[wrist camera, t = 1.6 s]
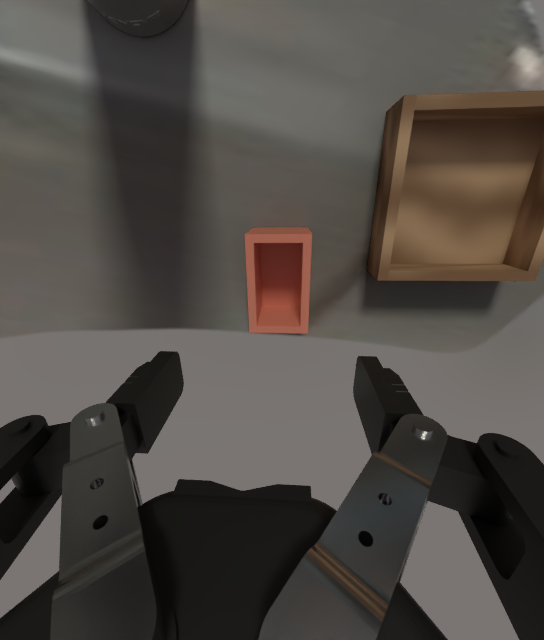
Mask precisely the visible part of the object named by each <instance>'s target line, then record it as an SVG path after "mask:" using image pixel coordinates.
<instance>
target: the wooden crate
mask: <svg viewBox="0 0 544 640" xmlns="http://www.w3.org/2000/svg"><path fill="white" fill-rule="evenodd" d="M543 259H544V91H517V92H489V93H461V94H433V95H404V96H403V97H402V98H401V99H400V100H399V101H398V102H396V103H395V104H394V105H393V106H392V107H391V108H390V109H389V110H388V111H387V112H386V120H385V128H384V136H383V144H382V152H381V160H380V168H379V176H378V184H377V192H376V200H375V207H374V215H373V223H372V231H371V239H370V247H369V255H368V263H367V271H368V272H369V273H370V274H371V275H372V276H373V277H374V278H375V279H376V280H377V281H535V280H536V277H537V275H538V272H539V269H540V267H541V264H542V261H543Z"/></svg>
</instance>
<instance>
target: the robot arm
mask: <svg viewBox="0 0 544 640" xmlns="http://www.w3.org/2000/svg"><path fill="white" fill-rule="evenodd" d="M87 1H88V2H89V3H90V4H91V5H92V6H93V7H94V8H95V9H96V10H97V11H98V12H99V13H101V14H102V15H103V16H104V17H105V18H106V19H107V20H108V21H109V22H110V23H111V24H112V25H113V26H115V27H116V28H118V29H119V30H121V31H123V32H125V33H128V34H130V35H133V36H141V37H149V36H154V35H158V34H160V33H161V32H163V31H165V30H167V29H168V28H169V27H171V26H172V25H173V24H174V23H175V22H176V21H177V20H178V18H179V17H180V15H181V14H182V12H183V10H184V9H185V6H186V4H187V1H188V0H87ZM183 384H184V382H183V375H182V370H181V363H180V357H179V354H178V353H177V352H167V351H160V352H159V353H158V354H157V355H156V356H155V357H154V358H153V360H152V361H151V362H146V363H145V364H143V365H142V366H140V367H138V368H137V369H136V370H135V371H134V372H133V373H132V374H131V375H130V377H129V378H128V379H127V380H126V381H125V383H123V384H122V385H121V386H120V387H119V389H118V390H117V391H116V392H115V393H114V394H113V395H112V396H111V397H110V398H109V399H108V401H107V402H106V403H101V404H96V405H93V406H90V407H88V408H86V409H84V410H82V411H81V412H79V413H78V414H77V415H76V416H75V417H74V418H73V419H72V421H71V422H68V423H62V424H57V425H52V426H48V424H47V422H46V420H45V418H44V417H43V416H40V415H31V416H26V417H22V418H19V419H17V420H14V421H12V422H10V423H8V424H6V425H5V426H3V427H1V428H0V490H1V489H2V488H3V486H4V485H5V484H6V483H7V482H8V481H9V480H10V479H12V481H13V483H14V484H15V486H16V487H15V488H14V489H13V490H12V491H11V492H10V494H9V495H8V496H7V497H6V498H5V499H4V500H3V501H2V502H1V504H0V580H1V578H2V577H3V575H4V574H5V573H6V571H7V570H8V568H9V567H10V566H11V564H12V563H13V561H14V560H15V559H16V557H17V556H18V554H19V553H20V552H21V550H22V549H23V548H24V546H25V545H26V543H27V542H28V541H29V539H30V538H31V536H32V535H33V534H34V532H35V531H36V529H37V528H38V527H39V525H40V524H41V522H42V521H43V519H44V518H45V517H46V516H47V514H48V513H49V511H50V510H51V509H52V507H53V506H54V504H55V503H56V501H57V500H58V499H59V497H60V496H61V495H62V506H61V533H60V561H59V571H58V572H57V573H56V574H55V575H53V576H52V577H51V578H50V579H49V580H47V581H46V582H45V583H43V584H42V585H41V586H40V587H39V588H37V589H36V590H35V591H34V592H32V593H31V594H30V595H29V596H27V597H26V598H25V599H24V600H22V601H21V602H20V603H19V604H17V605H16V606H15V607H14V608H13V609H11V610H10V611H9V612H8V613H6V614H5V615H4V616H3V617H1V618H0V640H448V639H447V638H446V637H445V636H444V635H443V633H442V632H441V631H440V630H439V629H438V627H437V626H436V625H435V624H434V623H433V622H432V620H431V619H430V618H429V617H428V616H427V614H426V613H425V612H424V611H423V609H422V608H421V607H420V606H419V605H418V604H417V602H416V601H415V600H414V599H413V598H412V597H411V595H410V594H409V593H408V592H407V590H406V589H405V588H404V587H403V586H402V584H401V583H400V581H401V578H402V575H403V572H404V569H405V566H406V563H407V560H408V557H409V554H410V551H411V548H412V545H413V542H414V539H415V536H416V534H417V531H418V528H419V525H420V522H421V519H422V516H423V513H424V510H425V508H426V504H427V502H428V501H430V502H433V503H436V504H439V505H442V506H445V507H447V508H450V509H453V510H456V511H458V512H459V514H460V516H461V519H462V521H463V523H464V525H465V527H466V529H467V531H468V533H469V535H470V537H471V540H472V542H473V544H474V546H475V548H476V550H477V552H478V554H479V556H480V558H481V560H482V563H483V565H484V567H485V569H486V571H487V573H488V575H489V577H490V579H491V581H492V583H493V585H494V588H495V590H496V592H497V594H498V596H499V598H500V600H501V602H502V604H503V606H504V608H505V611H506V613H507V615H508V617H509V619H510V621H511V623H512V625H513V627H514V629H515V632H516V633H517V635H518V638H519V640H544V465H543V463H541V461H540V460H539V459H538V458H537V457H536V455H535V454H534V453H533V452H532V451H531V450H530V449H528V448H527V447H526V446H524V445H523V444H521V443H519V442H518V441H516V440H514V439H512V438H510V437H507V436H504V435H500V434H495V433H487V434H483V435H482V436H480V437H479V440H478V442H477V443H473V442H470V441H466V440H462V439H458V438H455V437H452V436H449V435H447V432H446V431H445V429H444V428H443V427H442V426H441V425H440V424H439V423H438V422H436V421H435V420H433V419H431V418H429V417H427V416H424V415H423V414H422V412H421V410H420V409H419V407H418V406H417V404H416V402H415V401H414V399H413V398H412V396H411V394H410V393H409V392H408V389H407V388H406V386H405V385H404V383H403V381H402V380H401V378H400V377H399V375H397V374H396V373H395V372H394V371H392V370H391V369H390V368H383V367H382V365H381V364H380V362H379V360H378V358H377V357H372V356H371V357H370V356H369V357H368V356H358V358H357V364H356V371H355V379H354V387H353V393H354V400H355V403H356V406H357V409H358V412H359V416H360V419H361V422H362V425H363V428H364V431H365V434H366V437H367V440H368V444H369V447H370V449H371V453H372V456H371V457H370V459H369V461H368V462H367V464H366V465H365V467H364V469H363V470H362V472H361V473H360V475H359V477H358V478H357V480H356V481H355V483H354V485H353V486H352V488H351V490H350V491H349V493H348V494H347V496H346V497H345V499H344V501H343V502H342V504H341V505H340V507H339V509H338V510H337V511H336V510H335V509H333V508H332V507H330V506H329V505H327V504H326V503H324V502H321V501H319V500H317V499H314V498H311V487H310V486H301V485H300V486H299V485H281V484H277V485H272V486H266V487H261V488H256V489H252V490H246V491H240V490H237V489H234V488H230V487H227V486H224V485H222V484H218V483H215V482H212V481H203V480H184V479H179V480H178V482H177V485H176V487H175V490H174V491H171V492H168V493H165V494H162V495H160V496H157V497H155V498H153V499H151V500H149V501H147V502H145V503H144V504H143V503H142V500H141V495H140V491H139V487H138V482H137V478H136V474H135V469H134V465H133V462H132V458H133V456H134V454H135V453H148V452H149V450H150V449H151V447H152V445H153V443H154V442H155V440H156V438H157V436H158V435H159V433H160V431H161V429H162V427H163V426H164V424H165V422H166V420H167V419H168V417H169V415H170V413H171V412H172V410H173V408H174V406H175V405H176V403H177V401H178V399H179V397H180V396H181V394H182V391H183Z"/></svg>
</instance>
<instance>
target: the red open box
mask: <svg viewBox="0 0 544 640" xmlns="http://www.w3.org/2000/svg"><path fill="white" fill-rule="evenodd" d="M311 248H312V233H311V231H310V230H309V228H308V227H258V228H252V229H251V230H250V231H248V232H247V233H246V234H245V249H246V270H247V290H248V310H249V330H250V333H302V334H308V316H309V293H310V270H311Z"/></svg>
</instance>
